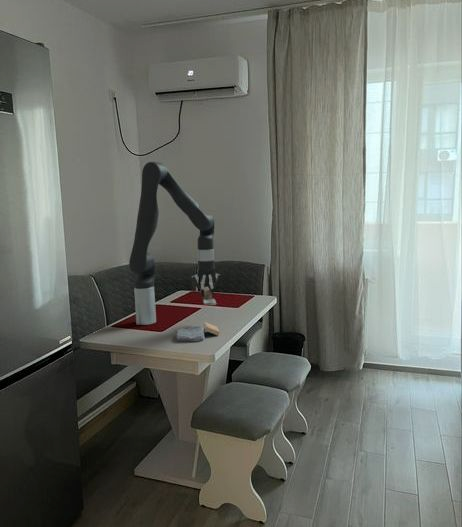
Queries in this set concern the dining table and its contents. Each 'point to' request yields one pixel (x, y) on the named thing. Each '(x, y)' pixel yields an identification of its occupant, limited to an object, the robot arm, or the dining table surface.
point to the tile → (211, 328)
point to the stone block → (191, 334)
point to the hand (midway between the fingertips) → (207, 296)
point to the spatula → (208, 297)
